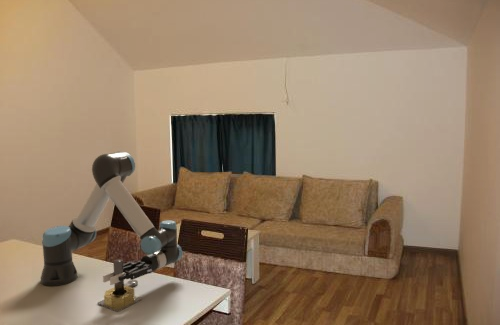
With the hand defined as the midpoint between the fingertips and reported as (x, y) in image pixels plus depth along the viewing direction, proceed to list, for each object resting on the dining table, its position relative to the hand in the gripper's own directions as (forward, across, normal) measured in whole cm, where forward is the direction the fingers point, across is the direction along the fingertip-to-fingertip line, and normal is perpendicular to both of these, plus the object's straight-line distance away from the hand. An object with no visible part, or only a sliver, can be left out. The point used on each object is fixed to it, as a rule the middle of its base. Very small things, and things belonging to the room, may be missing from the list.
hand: (107, 280), depth 154 cm
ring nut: (-5, 0, -11) cm, 12 cm away
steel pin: (-5, 0, -8) cm, 10 cm away
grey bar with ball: (-15, +9, -11) cm, 20 cm away
